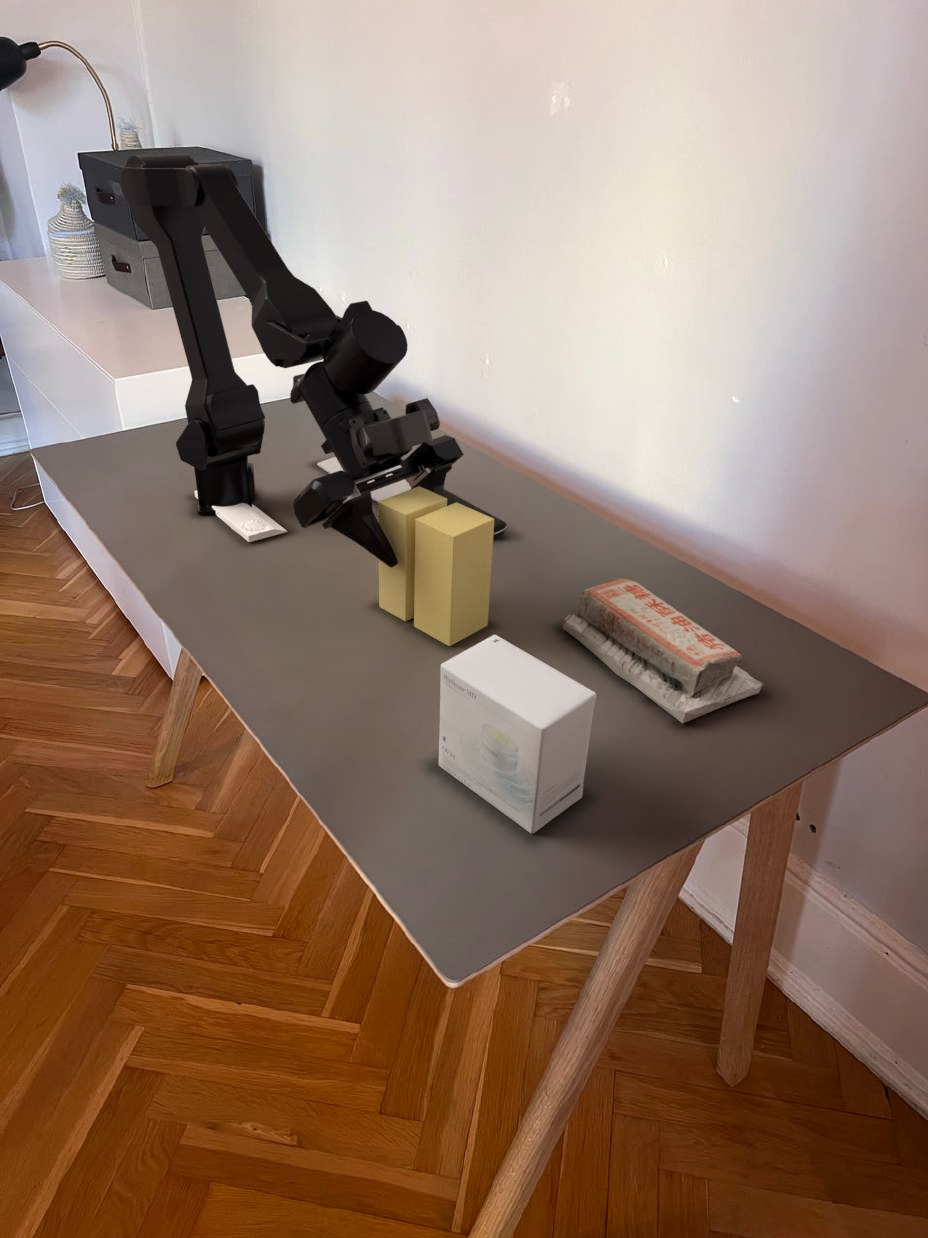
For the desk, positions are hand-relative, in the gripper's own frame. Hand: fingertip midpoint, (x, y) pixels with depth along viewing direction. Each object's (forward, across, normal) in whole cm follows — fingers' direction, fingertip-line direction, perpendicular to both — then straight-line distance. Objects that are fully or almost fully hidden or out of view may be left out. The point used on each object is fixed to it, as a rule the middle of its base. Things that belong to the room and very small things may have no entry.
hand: (422, 553), depth 91 cm
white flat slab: (-17, -1, +27) cm, 32 cm away
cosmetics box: (+22, -13, -12) cm, 28 cm away
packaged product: (+20, +10, -11) cm, 25 cm away
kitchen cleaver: (-10, +19, +20) cm, 29 cm away
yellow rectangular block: (+4, 0, +6) cm, 7 cm away
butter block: (+8, 0, +2) cm, 8 cm away
